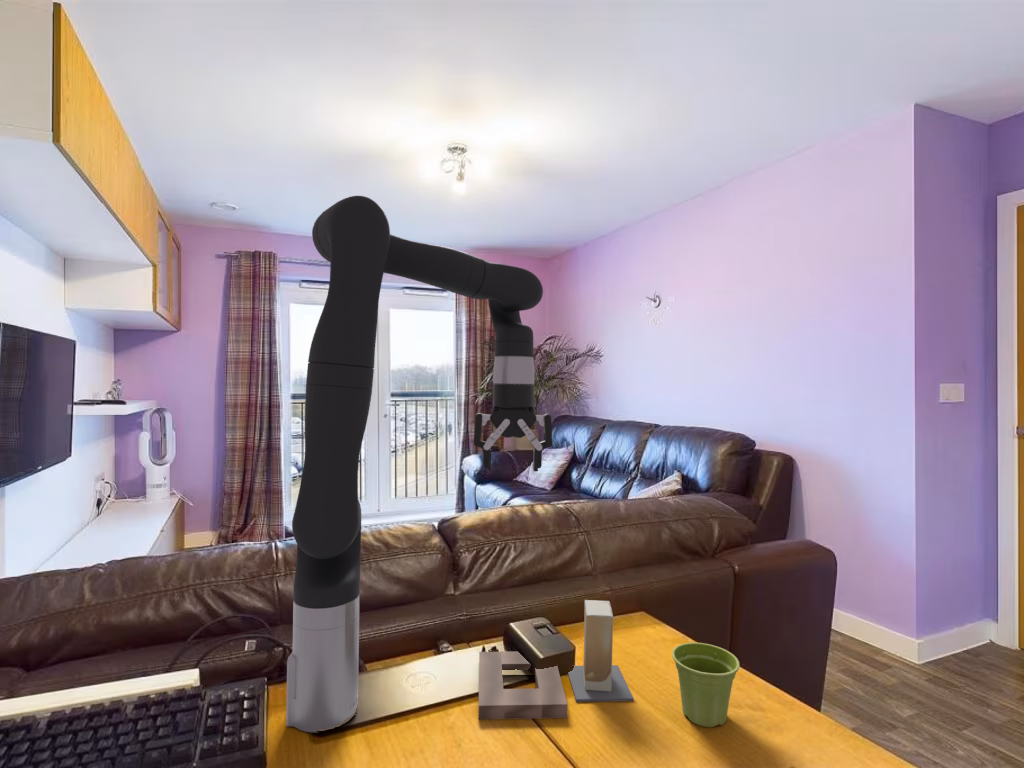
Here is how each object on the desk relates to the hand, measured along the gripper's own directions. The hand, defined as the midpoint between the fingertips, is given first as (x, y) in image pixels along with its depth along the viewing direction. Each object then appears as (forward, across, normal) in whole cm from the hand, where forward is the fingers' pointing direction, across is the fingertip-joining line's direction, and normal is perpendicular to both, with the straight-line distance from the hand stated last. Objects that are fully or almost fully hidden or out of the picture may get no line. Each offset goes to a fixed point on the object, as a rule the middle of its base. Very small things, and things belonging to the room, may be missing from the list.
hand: (512, 470), depth 99 cm
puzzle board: (+33, +1, -12) cm, 35 cm away
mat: (+33, +14, -11) cm, 38 cm away
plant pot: (+33, +28, -20) cm, 48 cm away
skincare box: (+33, +14, -11) cm, 37 cm away
